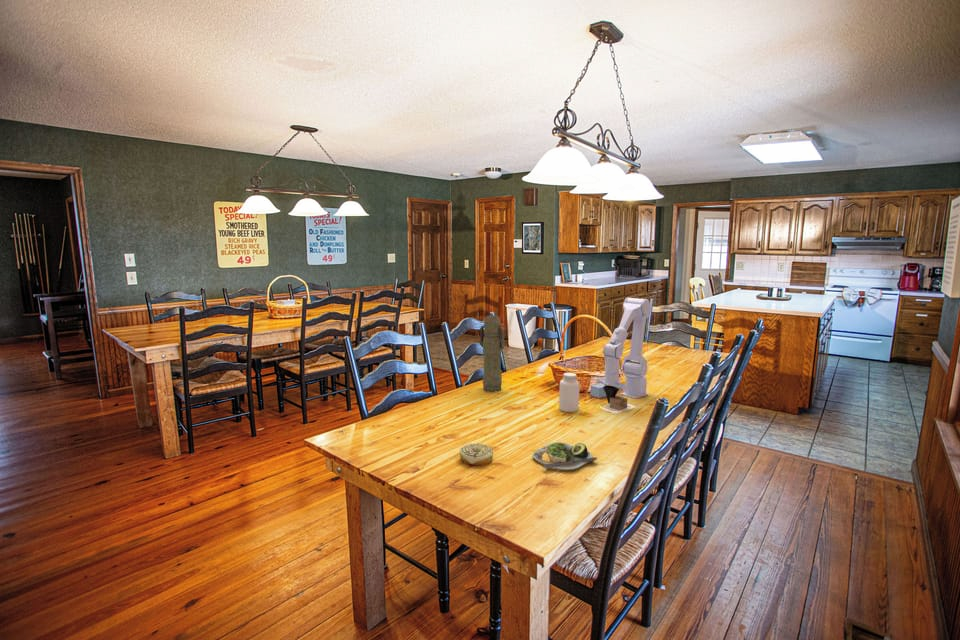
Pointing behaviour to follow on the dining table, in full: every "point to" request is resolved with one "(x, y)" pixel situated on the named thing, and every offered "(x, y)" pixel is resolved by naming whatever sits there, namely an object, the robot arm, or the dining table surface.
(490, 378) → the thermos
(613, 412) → the letter
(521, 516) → the dining table surface
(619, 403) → the walnut block
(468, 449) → the decorated donut
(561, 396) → the pill bottle
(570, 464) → the salad plate
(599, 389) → the slate cube
